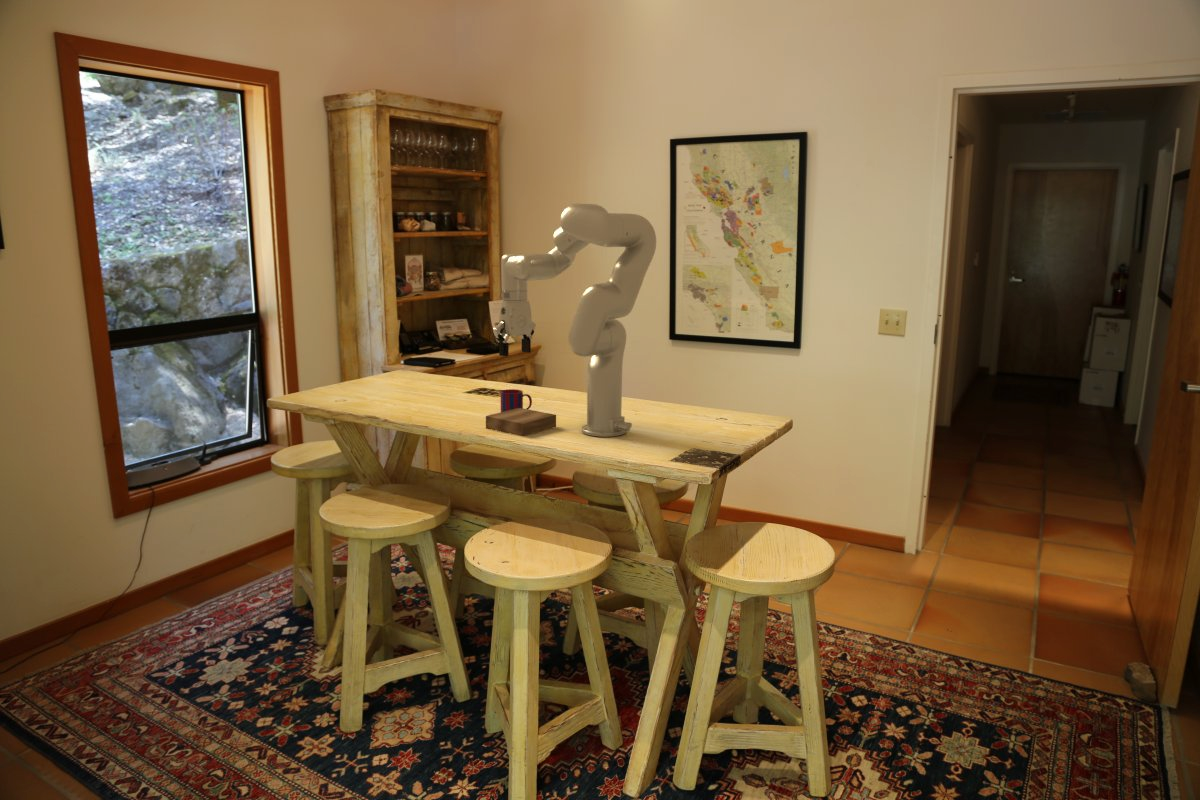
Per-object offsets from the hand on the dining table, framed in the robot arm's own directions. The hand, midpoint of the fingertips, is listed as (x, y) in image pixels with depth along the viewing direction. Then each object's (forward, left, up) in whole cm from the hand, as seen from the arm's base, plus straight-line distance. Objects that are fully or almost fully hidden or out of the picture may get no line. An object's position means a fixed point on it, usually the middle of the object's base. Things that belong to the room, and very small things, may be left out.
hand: (515, 354), depth 252 cm
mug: (0, 0, -19) cm, 19 cm away
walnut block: (-13, +12, -19) cm, 26 cm away
